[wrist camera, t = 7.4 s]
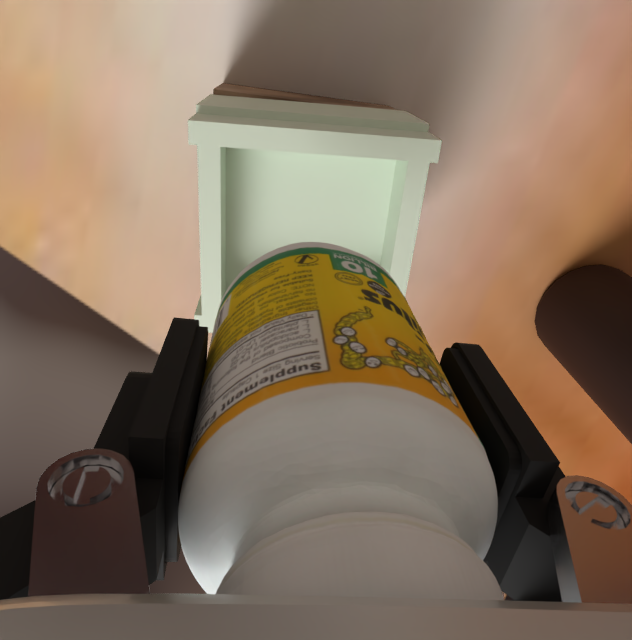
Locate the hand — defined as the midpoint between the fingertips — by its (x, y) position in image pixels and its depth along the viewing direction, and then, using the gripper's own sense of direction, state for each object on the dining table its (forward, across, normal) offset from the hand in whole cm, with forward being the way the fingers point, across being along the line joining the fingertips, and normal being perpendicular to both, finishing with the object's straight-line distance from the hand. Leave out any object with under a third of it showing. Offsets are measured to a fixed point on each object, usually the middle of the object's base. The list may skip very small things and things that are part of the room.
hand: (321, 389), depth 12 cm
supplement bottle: (+3, 0, 0) cm, 3 cm away
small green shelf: (+16, 0, 0) cm, 16 cm away
